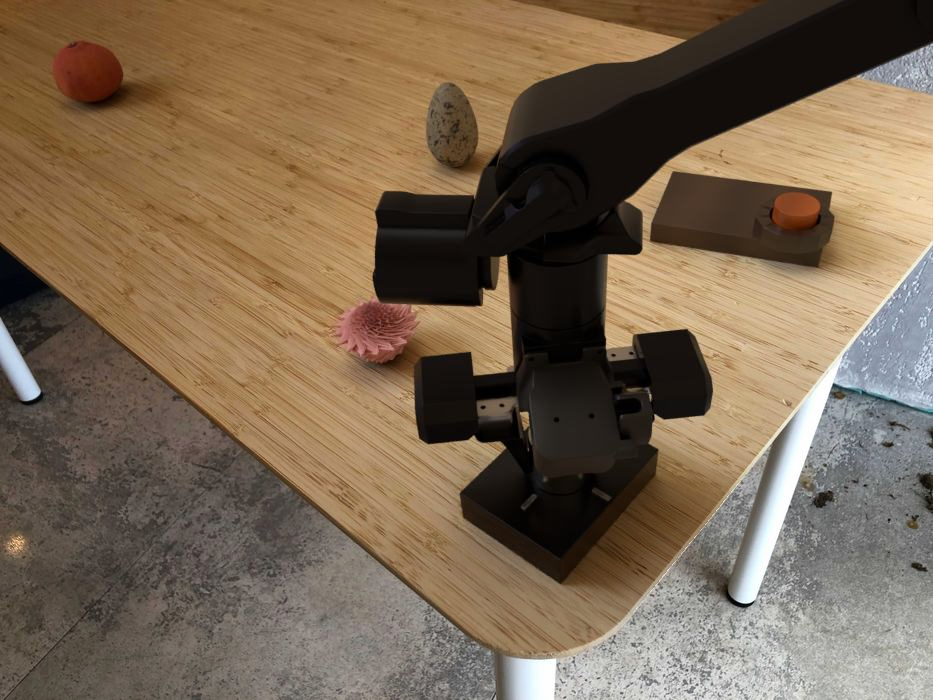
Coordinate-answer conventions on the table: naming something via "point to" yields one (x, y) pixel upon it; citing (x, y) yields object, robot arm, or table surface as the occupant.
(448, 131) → the decorative egg
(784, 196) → the button
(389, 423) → the table surface
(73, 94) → the fruit
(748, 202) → the button block
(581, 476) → the dial
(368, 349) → the flower
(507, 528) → the panel
